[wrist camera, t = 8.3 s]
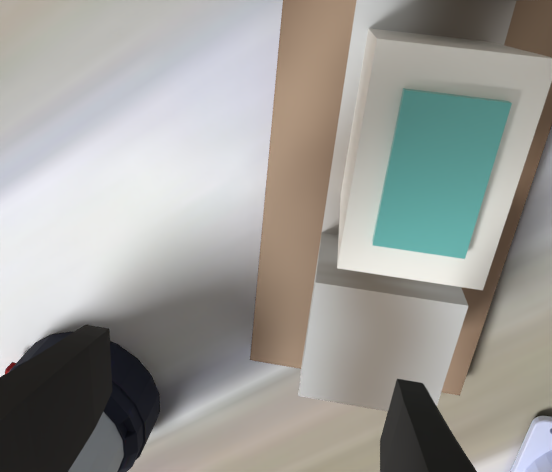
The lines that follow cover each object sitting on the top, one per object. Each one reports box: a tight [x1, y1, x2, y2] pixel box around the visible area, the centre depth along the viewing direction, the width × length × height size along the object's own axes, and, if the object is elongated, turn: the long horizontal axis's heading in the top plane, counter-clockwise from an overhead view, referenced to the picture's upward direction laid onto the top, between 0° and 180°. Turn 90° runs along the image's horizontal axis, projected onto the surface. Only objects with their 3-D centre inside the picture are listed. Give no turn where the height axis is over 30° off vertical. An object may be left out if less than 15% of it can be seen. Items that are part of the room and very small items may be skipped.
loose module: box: [337, 28, 552, 290], centre depth 15 cm, size 4×6×6 cm, turn 174°
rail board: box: [250, 0, 552, 411], centre depth 17 cm, size 10×24×6 cm, turn 175°
